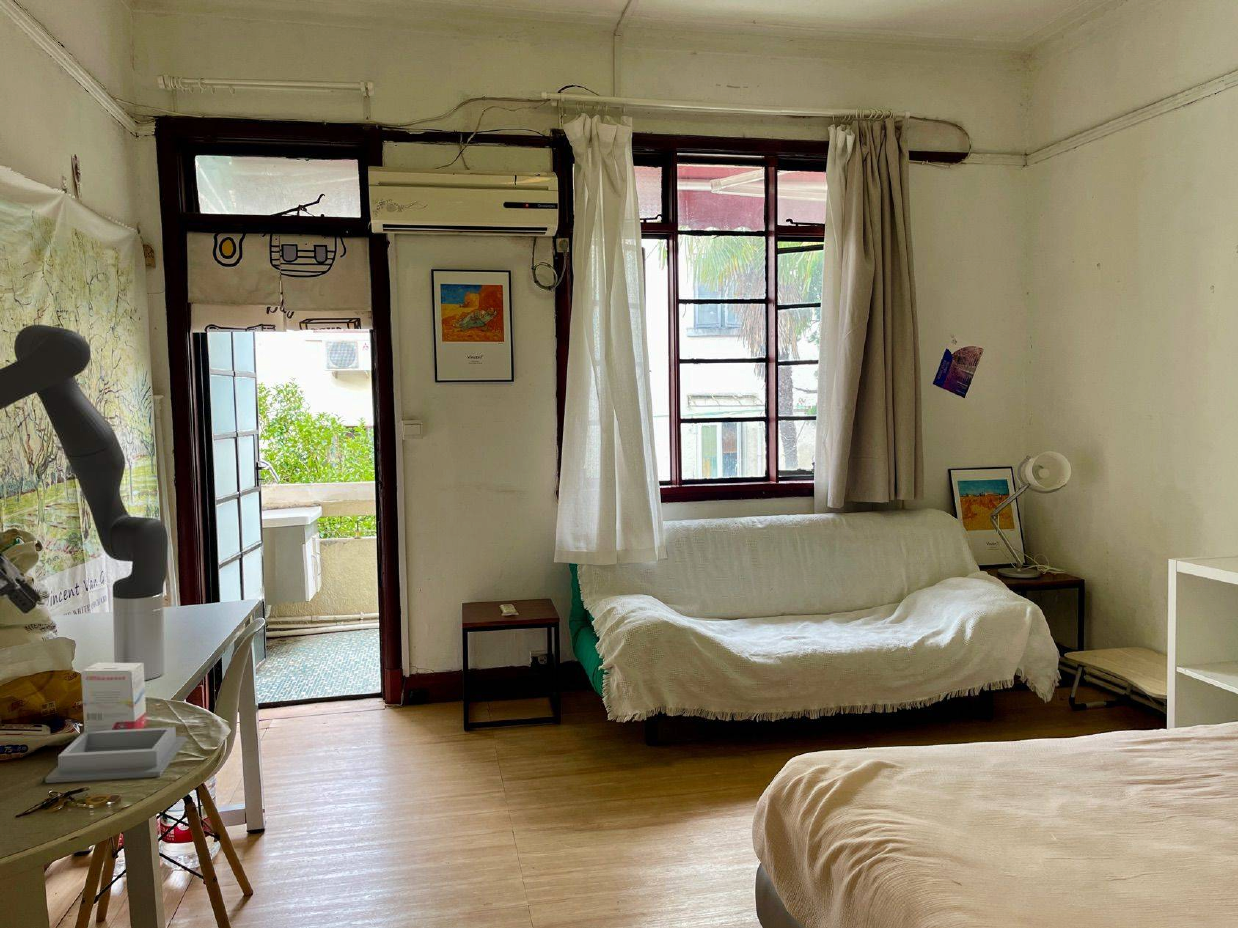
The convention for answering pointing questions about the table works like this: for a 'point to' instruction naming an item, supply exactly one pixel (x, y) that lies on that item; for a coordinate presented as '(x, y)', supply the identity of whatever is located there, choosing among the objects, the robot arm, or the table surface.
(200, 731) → the table surface
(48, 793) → the table surface
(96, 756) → the tray
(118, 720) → the ink box
